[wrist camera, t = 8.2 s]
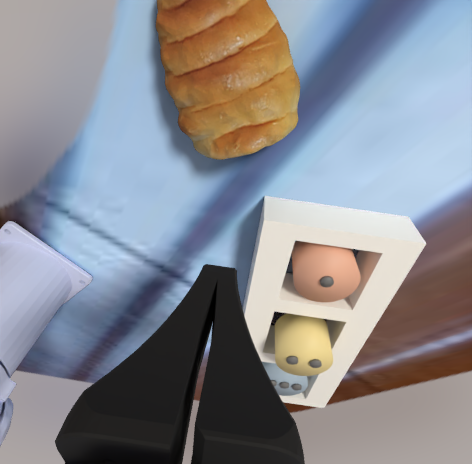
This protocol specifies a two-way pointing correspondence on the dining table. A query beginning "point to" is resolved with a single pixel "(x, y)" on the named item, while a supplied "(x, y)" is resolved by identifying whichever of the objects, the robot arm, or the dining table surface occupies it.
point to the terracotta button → (324, 271)
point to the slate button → (285, 380)
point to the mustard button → (302, 345)
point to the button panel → (337, 313)
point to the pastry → (228, 74)
